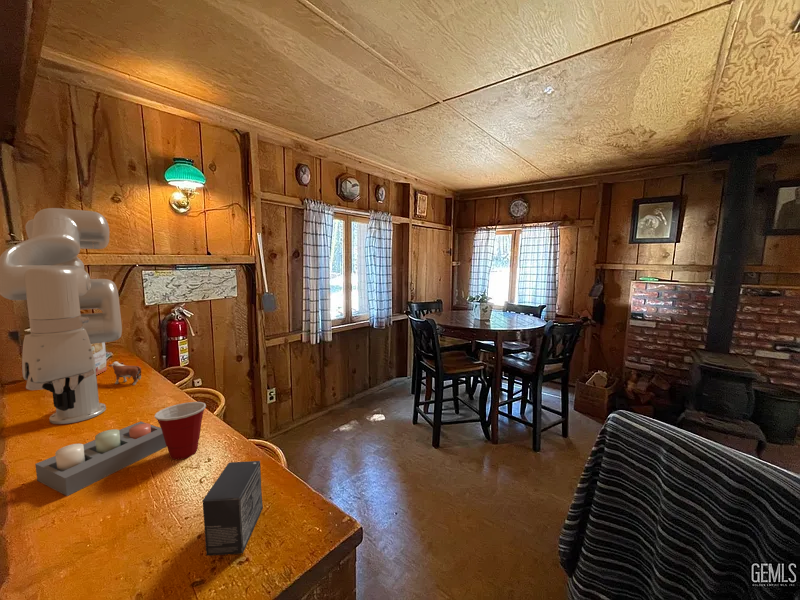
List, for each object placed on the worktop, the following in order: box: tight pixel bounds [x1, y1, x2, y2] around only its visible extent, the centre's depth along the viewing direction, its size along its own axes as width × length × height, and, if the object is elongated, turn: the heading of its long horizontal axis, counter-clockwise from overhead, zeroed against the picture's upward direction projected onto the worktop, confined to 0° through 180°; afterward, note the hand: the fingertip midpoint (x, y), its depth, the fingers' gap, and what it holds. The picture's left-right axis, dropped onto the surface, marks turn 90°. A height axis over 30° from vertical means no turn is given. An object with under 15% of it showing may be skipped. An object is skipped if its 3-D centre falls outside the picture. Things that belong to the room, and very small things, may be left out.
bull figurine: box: [108, 361, 142, 386], centre depth 129 cm, size 4×13×8 cm, turn 79°
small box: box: [202, 460, 264, 557], centre depth 60 cm, size 11×6×10 cm, turn 5°
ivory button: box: [54, 443, 85, 472], centre depth 73 cm, size 4×4×5 cm
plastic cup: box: [154, 401, 207, 461], centre depth 83 cm, size 11×11×12 cm
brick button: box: [129, 422, 152, 439], centre depth 86 cm, size 4×4×5 cm
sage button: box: [94, 428, 121, 454], centre depth 80 cm, size 4×4×5 cm
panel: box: [35, 421, 167, 497], centre depth 80 cm, size 12×21×4 cm, turn 158°
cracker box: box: [91, 342, 108, 376], centre depth 134 cm, size 14×6×21 cm, turn 12°
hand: (65, 408), depth 72 cm, fingers closed
